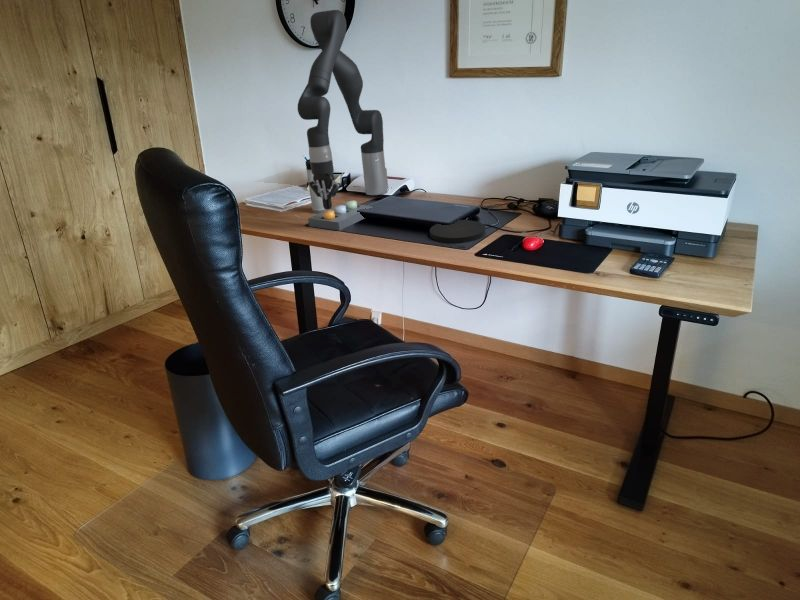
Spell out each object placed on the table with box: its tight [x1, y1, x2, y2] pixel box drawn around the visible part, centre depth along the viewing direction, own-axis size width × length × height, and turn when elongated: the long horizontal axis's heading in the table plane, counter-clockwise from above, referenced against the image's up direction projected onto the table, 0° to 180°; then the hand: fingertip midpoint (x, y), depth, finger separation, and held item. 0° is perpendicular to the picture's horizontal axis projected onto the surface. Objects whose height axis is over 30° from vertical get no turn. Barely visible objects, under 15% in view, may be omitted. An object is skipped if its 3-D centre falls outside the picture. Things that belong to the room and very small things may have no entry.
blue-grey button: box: [334, 204, 346, 215], centre depth 202 cm, size 4×4×4 cm
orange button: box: [323, 210, 335, 220], centre depth 197 cm, size 4×4×4 cm
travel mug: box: [305, 158, 327, 214], centre depth 213 cm, size 6×7×20 cm
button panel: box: [307, 202, 374, 232], centre depth 203 cm, size 20×14×3 cm
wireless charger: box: [429, 219, 486, 244], centre depth 179 cm, size 18×18×2 cm
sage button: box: [345, 199, 358, 210], centre depth 207 cm, size 4×4×4 cm
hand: (327, 208), depth 196 cm, fingers closed
